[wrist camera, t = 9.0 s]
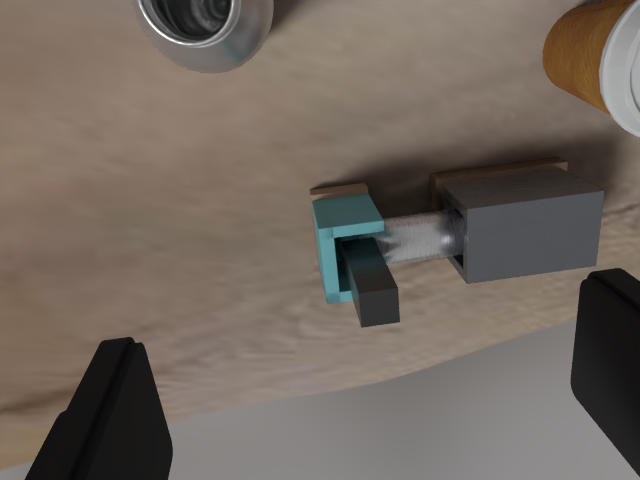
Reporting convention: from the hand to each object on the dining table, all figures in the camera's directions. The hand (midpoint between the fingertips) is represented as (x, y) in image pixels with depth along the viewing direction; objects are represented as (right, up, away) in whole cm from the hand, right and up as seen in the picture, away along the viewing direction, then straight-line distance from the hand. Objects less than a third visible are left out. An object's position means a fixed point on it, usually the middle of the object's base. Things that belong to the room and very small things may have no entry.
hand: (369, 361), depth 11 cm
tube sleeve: (+14, +6, +34) cm, 37 cm away
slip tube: (+6, +3, +31) cm, 32 cm away
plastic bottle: (-8, +19, +26) cm, 34 cm away
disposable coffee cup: (+19, +18, +30) cm, 40 cm away
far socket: (+1, +4, +34) cm, 34 cm away
